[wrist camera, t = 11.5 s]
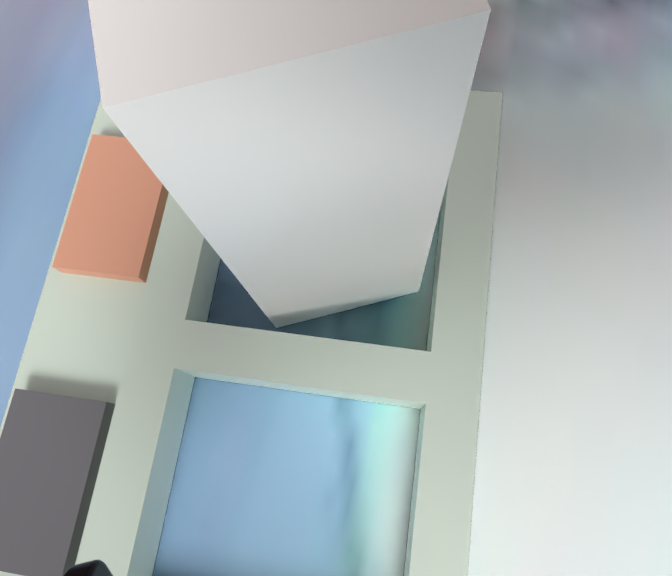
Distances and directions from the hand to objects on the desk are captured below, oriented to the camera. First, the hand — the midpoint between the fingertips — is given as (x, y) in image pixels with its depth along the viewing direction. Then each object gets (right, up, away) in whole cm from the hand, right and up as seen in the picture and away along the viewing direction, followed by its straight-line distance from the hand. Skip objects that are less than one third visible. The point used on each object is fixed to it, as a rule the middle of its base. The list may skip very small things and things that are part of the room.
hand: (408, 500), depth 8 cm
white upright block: (-1, +5, +12) cm, 13 cm away
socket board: (-4, +1, +10) cm, 11 cm away
